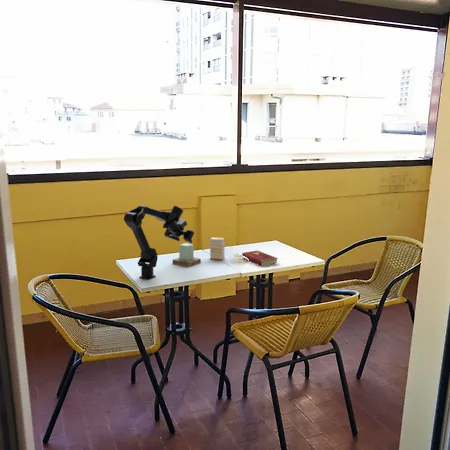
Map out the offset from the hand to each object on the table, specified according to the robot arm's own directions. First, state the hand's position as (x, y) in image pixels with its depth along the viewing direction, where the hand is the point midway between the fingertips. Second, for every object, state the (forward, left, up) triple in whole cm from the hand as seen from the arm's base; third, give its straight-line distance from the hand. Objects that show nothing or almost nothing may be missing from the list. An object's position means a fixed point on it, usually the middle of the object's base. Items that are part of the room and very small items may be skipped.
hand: (185, 241), depth 273 cm
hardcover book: (+28, -36, -14) cm, 48 cm away
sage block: (+1, 0, -11) cm, 11 cm away
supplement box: (+19, -11, -14) cm, 26 cm away
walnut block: (+1, 0, -14) cm, 14 cm away
